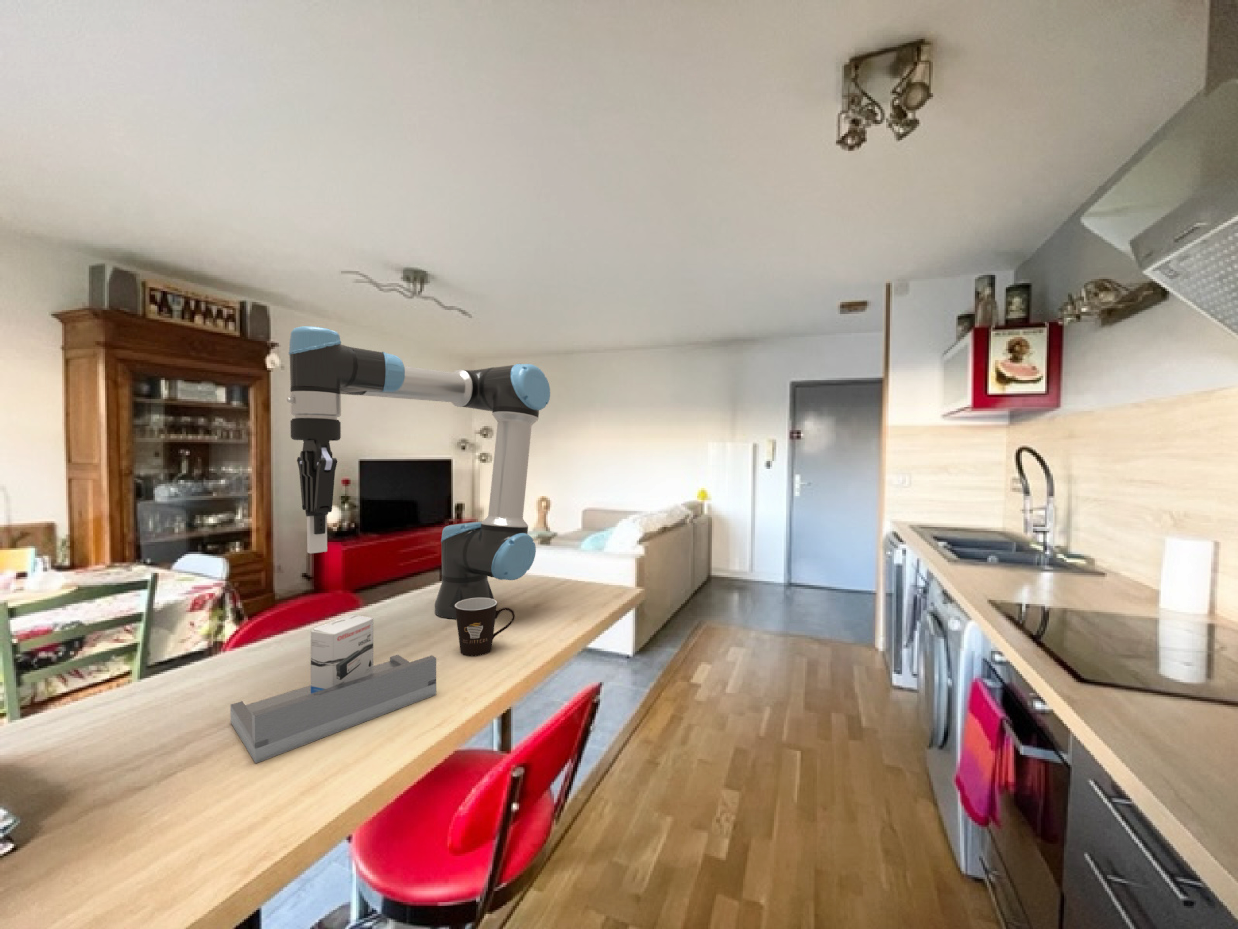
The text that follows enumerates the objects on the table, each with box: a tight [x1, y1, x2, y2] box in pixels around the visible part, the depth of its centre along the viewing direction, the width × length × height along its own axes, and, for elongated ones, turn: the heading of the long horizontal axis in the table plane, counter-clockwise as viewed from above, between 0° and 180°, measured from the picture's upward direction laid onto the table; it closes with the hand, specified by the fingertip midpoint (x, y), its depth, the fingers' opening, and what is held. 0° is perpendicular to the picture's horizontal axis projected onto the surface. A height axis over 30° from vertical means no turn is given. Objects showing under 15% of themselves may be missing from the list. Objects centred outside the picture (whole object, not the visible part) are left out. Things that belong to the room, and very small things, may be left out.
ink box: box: [310, 614, 374, 693], centre depth 83 cm, size 8×5×12 cm, turn 162°
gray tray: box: [229, 654, 437, 764], centre depth 82 cm, size 26×15×6 cm, turn 138°
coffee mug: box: [455, 598, 516, 657], centre depth 106 cm, size 12×9×10 cm
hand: (317, 551), depth 88 cm, fingers closed
